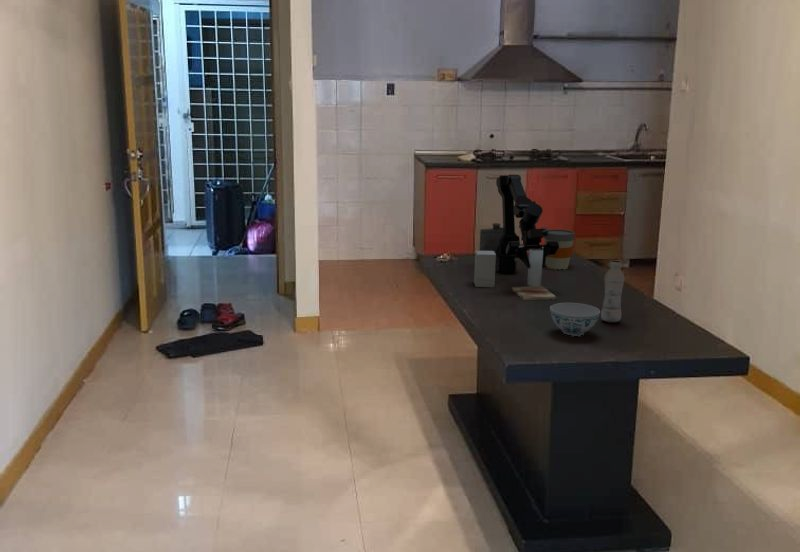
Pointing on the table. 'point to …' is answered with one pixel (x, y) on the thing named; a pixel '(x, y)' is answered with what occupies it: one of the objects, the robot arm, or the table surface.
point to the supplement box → (484, 268)
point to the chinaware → (574, 317)
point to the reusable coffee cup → (560, 248)
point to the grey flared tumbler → (535, 267)
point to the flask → (491, 239)
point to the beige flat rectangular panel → (534, 293)
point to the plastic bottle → (613, 292)
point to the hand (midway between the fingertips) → (536, 267)
